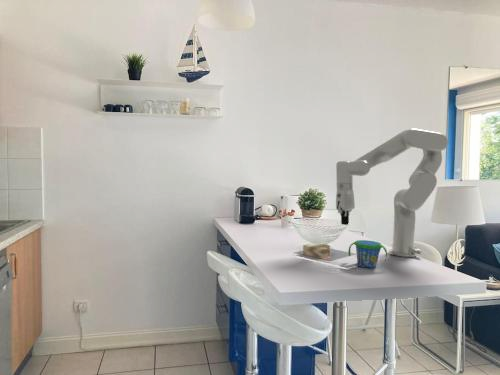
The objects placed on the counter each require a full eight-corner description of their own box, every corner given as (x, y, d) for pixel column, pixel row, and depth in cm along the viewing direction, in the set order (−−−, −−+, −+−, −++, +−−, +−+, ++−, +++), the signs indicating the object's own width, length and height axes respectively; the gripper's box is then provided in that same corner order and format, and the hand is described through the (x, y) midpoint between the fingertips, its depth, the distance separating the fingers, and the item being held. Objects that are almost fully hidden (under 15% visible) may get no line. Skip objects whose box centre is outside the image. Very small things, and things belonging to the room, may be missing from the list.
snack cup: (388, 266, 170) (389, 242, 169) (383, 272, 161) (384, 247, 160) (351, 261, 178) (353, 238, 177) (344, 266, 168) (346, 242, 168)
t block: (335, 255, 184) (336, 246, 183) (322, 258, 177) (322, 249, 177) (316, 251, 192) (316, 242, 191) (302, 253, 185) (303, 245, 185)
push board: (357, 255, 188) (357, 254, 188) (329, 263, 172) (329, 261, 172) (321, 248, 203) (321, 246, 203) (292, 254, 186) (292, 252, 186)
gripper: (343, 187, 187) (343, 227, 188) (359, 185, 198) (359, 223, 199) (329, 187, 192) (329, 225, 193) (345, 185, 203) (346, 221, 204)
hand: (345, 224), depth 196 cm, fingers closed
